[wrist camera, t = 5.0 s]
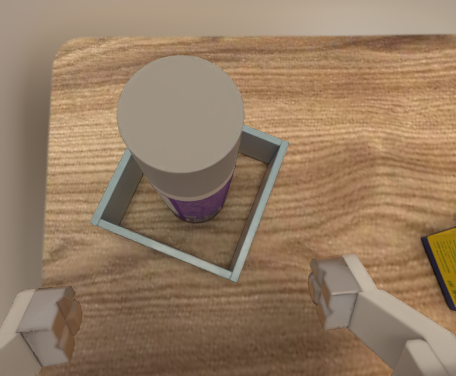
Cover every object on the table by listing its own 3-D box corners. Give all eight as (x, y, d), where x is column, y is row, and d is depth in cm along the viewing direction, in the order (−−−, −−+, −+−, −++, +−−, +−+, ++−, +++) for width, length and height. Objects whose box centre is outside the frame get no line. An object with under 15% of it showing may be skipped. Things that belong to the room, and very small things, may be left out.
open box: (110, 229, 25) (89, 222, 21) (163, 116, 27) (155, 89, 23) (231, 278, 25) (237, 282, 21) (276, 161, 27) (289, 142, 23)
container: (233, 175, 27) (264, 74, 12) (215, 231, 26) (224, 195, 11) (178, 157, 27) (141, 35, 12) (157, 212, 26) (91, 151, 11)
